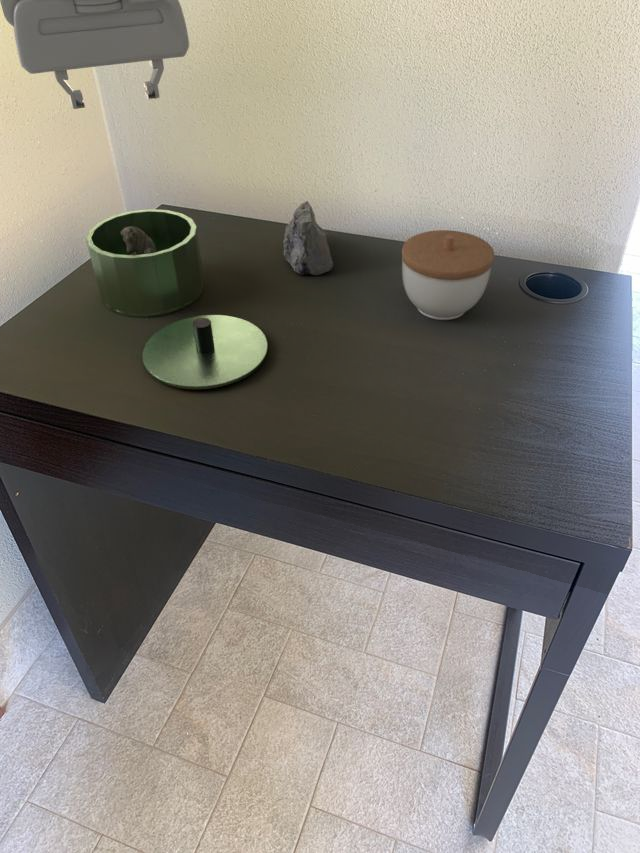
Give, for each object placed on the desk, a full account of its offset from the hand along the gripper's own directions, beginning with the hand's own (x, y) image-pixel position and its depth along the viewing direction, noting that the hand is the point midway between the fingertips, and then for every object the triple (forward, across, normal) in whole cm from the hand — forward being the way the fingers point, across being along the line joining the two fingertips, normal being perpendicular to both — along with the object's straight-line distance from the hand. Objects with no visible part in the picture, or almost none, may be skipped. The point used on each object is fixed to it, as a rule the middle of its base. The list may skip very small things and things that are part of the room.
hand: (116, 102), depth 87 cm
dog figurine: (+23, -2, -3) cm, 23 cm away
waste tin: (+27, 0, 0) cm, 27 cm away
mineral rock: (+27, +26, 0) cm, 38 cm away
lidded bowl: (+27, +38, -22) cm, 52 cm away
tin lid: (+26, +3, -20) cm, 33 cm away
